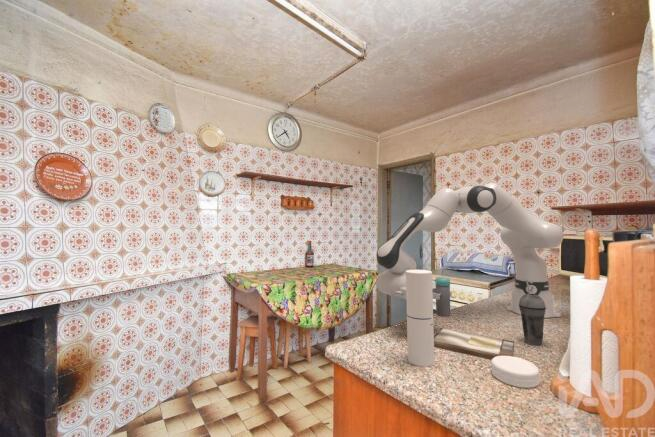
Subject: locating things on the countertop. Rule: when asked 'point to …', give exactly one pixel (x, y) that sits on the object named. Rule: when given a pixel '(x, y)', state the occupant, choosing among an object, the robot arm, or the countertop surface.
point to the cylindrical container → (420, 317)
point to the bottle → (443, 296)
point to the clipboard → (473, 344)
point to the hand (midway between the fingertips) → (445, 295)
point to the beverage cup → (532, 317)
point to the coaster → (515, 371)
